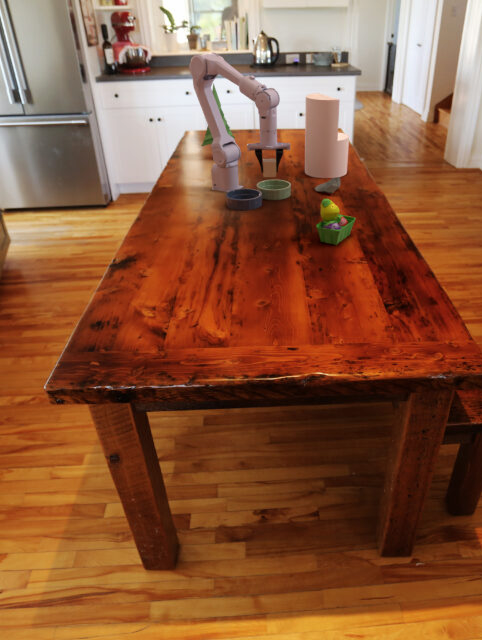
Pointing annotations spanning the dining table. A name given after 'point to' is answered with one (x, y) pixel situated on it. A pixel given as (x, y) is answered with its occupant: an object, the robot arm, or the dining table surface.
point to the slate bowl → (243, 199)
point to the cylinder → (324, 138)
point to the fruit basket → (333, 223)
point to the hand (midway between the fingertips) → (269, 171)
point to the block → (269, 167)
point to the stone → (329, 186)
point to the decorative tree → (208, 137)
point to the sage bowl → (274, 189)
